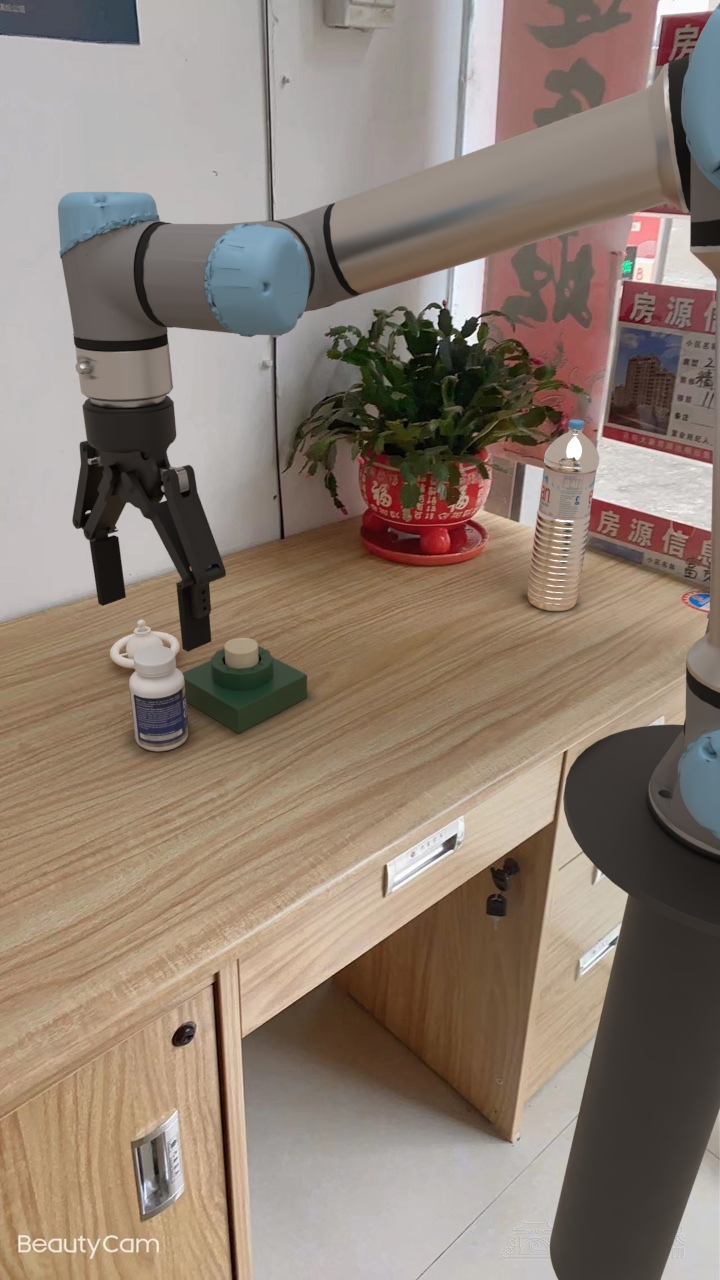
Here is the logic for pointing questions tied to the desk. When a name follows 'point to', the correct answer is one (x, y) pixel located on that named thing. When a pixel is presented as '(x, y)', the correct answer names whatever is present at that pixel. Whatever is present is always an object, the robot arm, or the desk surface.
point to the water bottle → (562, 520)
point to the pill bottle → (158, 700)
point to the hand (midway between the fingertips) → (152, 622)
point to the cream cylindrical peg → (241, 653)
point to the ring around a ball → (140, 644)
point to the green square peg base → (244, 690)
